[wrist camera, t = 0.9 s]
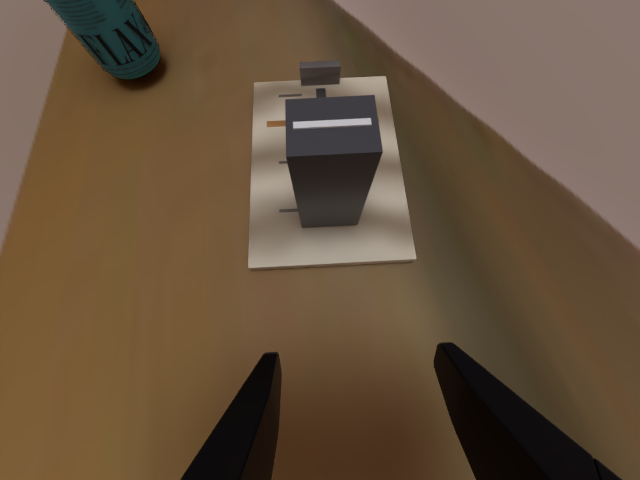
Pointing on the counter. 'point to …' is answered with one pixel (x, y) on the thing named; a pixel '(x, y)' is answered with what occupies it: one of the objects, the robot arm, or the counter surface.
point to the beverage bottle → (112, 34)
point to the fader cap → (332, 156)
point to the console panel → (278, 196)
